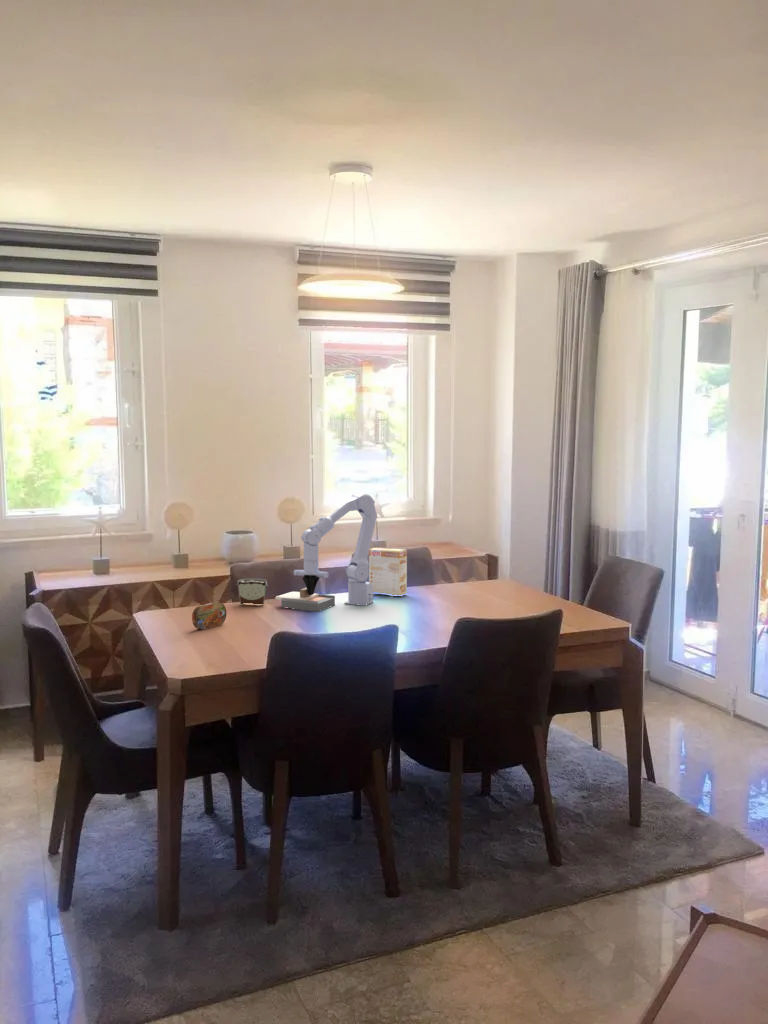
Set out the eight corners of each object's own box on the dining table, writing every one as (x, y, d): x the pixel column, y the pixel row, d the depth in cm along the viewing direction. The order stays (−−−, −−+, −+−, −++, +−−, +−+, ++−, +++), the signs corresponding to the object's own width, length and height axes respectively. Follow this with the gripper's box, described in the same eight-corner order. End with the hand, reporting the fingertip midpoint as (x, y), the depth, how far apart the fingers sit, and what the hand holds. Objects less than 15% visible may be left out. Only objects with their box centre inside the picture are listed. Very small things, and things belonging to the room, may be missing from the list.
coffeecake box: (407, 595, 366) (407, 549, 364) (398, 597, 360) (399, 551, 358) (377, 591, 374) (377, 546, 372) (368, 594, 367) (368, 548, 366)
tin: (197, 631, 295) (196, 607, 294) (190, 630, 297) (190, 606, 296) (227, 624, 308) (227, 600, 307) (220, 622, 309) (220, 599, 309)
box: (334, 605, 342) (334, 595, 342) (317, 611, 330) (317, 601, 329) (299, 601, 349) (299, 592, 349) (281, 608, 336) (281, 598, 336)
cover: (318, 596, 344) (318, 586, 344) (302, 601, 333) (302, 591, 332) (292, 593, 349) (292, 584, 349) (275, 599, 338) (275, 589, 337)
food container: (270, 603, 346) (270, 578, 345) (267, 606, 340) (267, 580, 339) (240, 602, 348) (240, 577, 347) (236, 605, 341) (236, 580, 341)
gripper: (289, 560, 337) (289, 594, 338) (322, 562, 331) (322, 597, 332) (298, 558, 343) (298, 591, 344) (331, 560, 337) (331, 594, 338)
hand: (311, 594), depth 338 cm, fingers closed
